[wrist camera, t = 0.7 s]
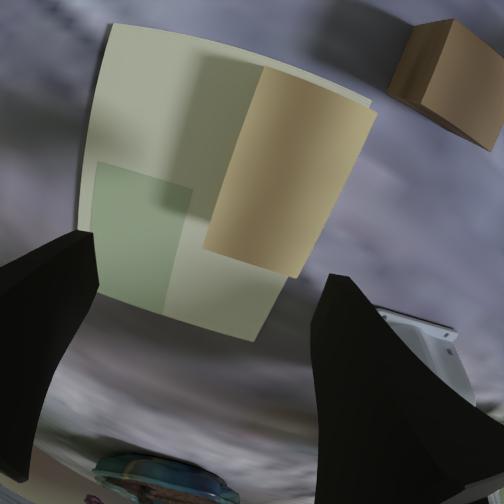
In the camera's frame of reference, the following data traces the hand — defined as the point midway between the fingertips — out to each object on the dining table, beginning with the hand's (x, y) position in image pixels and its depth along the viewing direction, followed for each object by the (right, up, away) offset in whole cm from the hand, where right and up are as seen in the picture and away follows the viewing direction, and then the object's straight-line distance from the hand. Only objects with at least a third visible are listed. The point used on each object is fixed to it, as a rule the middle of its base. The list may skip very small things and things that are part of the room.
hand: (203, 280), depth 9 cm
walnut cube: (+11, +10, +4) cm, 16 cm away
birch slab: (+3, +5, +7) cm, 9 cm away
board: (-2, +4, +9) cm, 10 cm away
